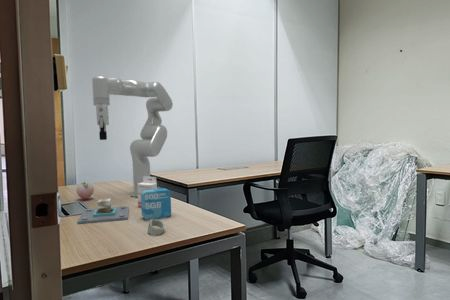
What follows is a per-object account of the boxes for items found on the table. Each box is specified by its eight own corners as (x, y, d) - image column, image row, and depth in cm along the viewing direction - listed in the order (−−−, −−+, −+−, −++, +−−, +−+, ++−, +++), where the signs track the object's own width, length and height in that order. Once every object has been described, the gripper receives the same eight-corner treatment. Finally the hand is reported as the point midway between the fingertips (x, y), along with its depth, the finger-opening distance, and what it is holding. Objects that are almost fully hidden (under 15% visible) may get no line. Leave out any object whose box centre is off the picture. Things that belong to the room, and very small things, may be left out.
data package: (143, 220, 145) (142, 192, 144) (141, 217, 150) (140, 190, 149) (171, 216, 150) (170, 189, 149) (168, 214, 154) (167, 187, 153)
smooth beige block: (111, 211, 157) (110, 198, 157) (110, 214, 152) (109, 201, 152) (99, 212, 156) (99, 199, 155) (98, 215, 151) (97, 201, 150)
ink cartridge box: (137, 207, 168) (136, 177, 167) (144, 205, 172) (142, 176, 171) (151, 209, 164) (150, 178, 163) (158, 206, 169) (157, 176, 168)
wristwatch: (148, 229, 134) (147, 216, 133) (164, 228, 135) (164, 215, 135) (147, 236, 125) (147, 223, 124) (165, 235, 126) (164, 222, 126)
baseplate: (128, 208, 166) (128, 204, 166) (127, 219, 147) (127, 215, 147) (84, 211, 161) (84, 207, 161) (77, 224, 142) (77, 219, 142)
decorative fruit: (97, 199, 187) (96, 181, 187) (82, 202, 181) (81, 183, 181) (89, 197, 194) (88, 179, 193) (74, 199, 188) (73, 181, 187)
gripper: (108, 101, 163) (110, 140, 164) (110, 103, 177) (112, 138, 179) (91, 101, 161) (93, 140, 162) (95, 103, 175) (96, 139, 177)
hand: (103, 139), depth 170 cm, fingers closed
